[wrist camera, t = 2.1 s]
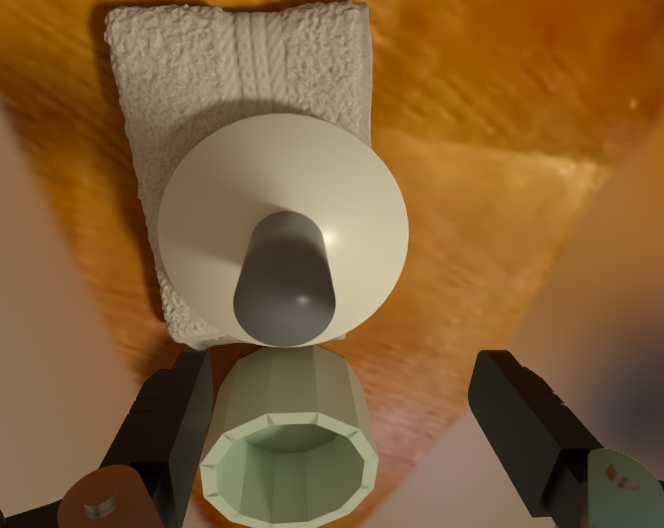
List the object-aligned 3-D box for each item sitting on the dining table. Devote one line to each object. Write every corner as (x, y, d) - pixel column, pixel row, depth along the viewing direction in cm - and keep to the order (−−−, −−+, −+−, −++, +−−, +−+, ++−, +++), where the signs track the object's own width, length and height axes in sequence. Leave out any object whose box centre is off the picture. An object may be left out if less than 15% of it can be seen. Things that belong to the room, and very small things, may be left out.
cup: (215, 343, 24) (193, 415, 19) (366, 342, 26) (386, 410, 20) (224, 451, 29) (208, 535, 23) (354, 446, 30) (367, 525, 24)
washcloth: (182, 333, 25) (168, 364, 22) (108, 9, 17) (71, -8, 14) (361, 321, 26) (369, 349, 23) (364, 6, 18) (377, -10, 15)
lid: (150, 103, 16) (64, 110, 10) (419, 122, 18) (486, 138, 11) (178, 334, 21) (131, 432, 15) (386, 335, 22) (420, 425, 16)
